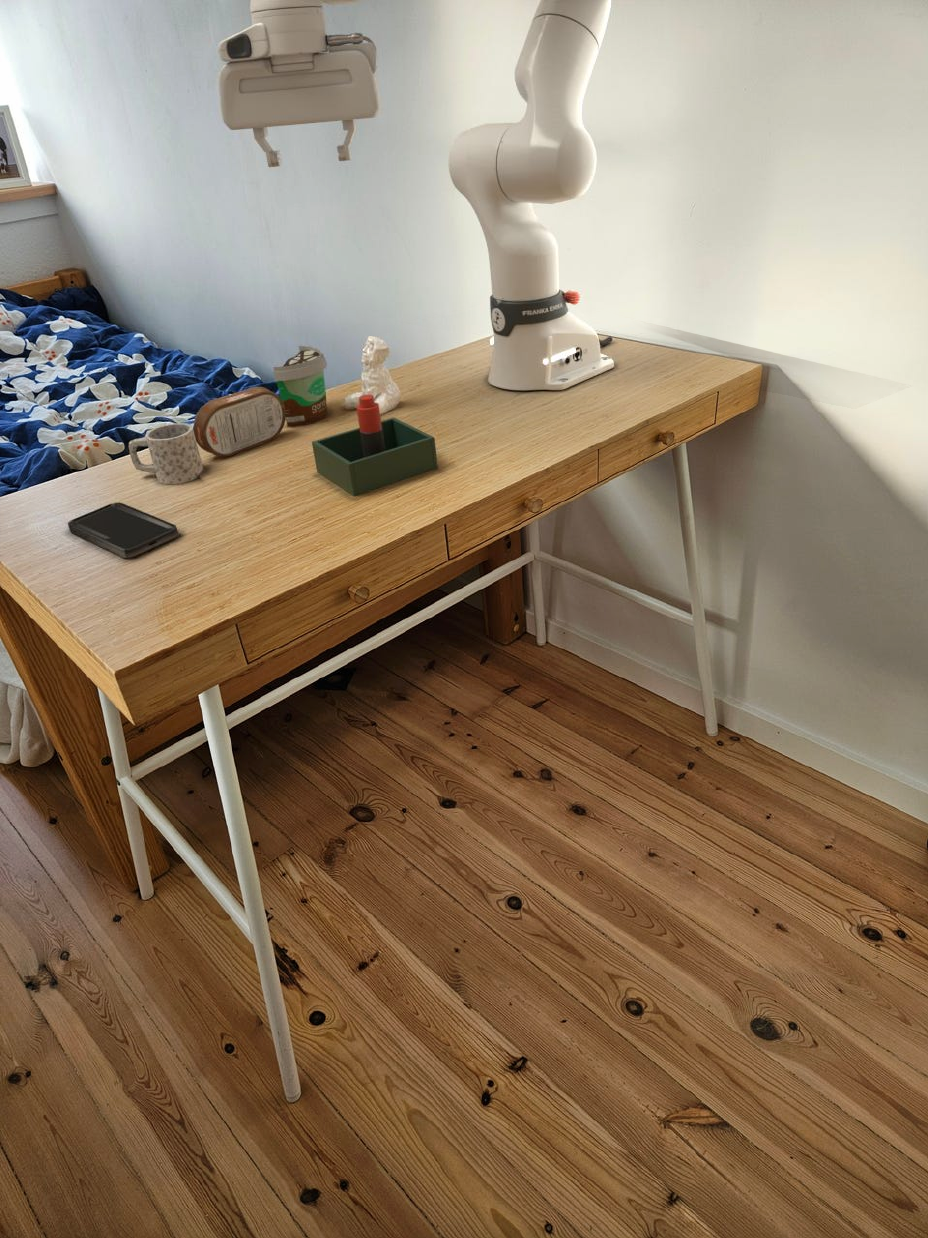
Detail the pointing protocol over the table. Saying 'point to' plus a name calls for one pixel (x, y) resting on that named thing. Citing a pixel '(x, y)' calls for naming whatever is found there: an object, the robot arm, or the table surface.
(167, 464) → the mug
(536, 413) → the table surface
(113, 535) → the phone
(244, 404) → the tin
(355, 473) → the dark green open box
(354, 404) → the seated beast figurine
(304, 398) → the food container
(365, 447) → the red and grey bottle
